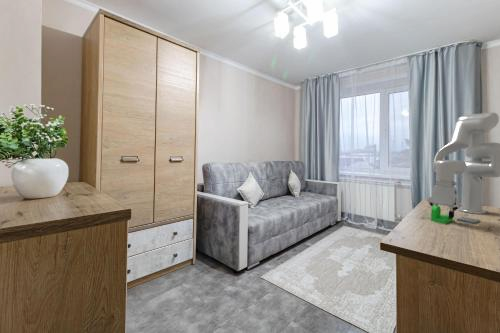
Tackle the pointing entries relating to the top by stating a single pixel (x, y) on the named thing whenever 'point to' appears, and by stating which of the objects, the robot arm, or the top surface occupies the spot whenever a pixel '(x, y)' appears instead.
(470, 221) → the dark rubber pad
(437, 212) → the mechanical part
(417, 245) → the top surface
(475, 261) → the top surface
